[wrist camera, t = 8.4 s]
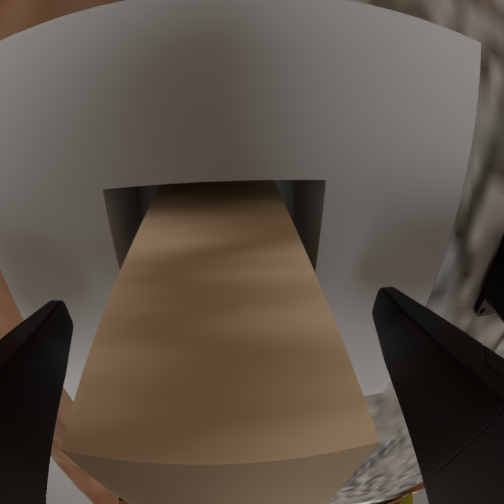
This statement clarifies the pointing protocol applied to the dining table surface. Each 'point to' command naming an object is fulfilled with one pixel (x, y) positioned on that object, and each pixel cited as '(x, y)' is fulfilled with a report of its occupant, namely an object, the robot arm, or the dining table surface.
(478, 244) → the dining table surface
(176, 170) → the socket block
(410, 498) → the artificial plant
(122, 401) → the peg
